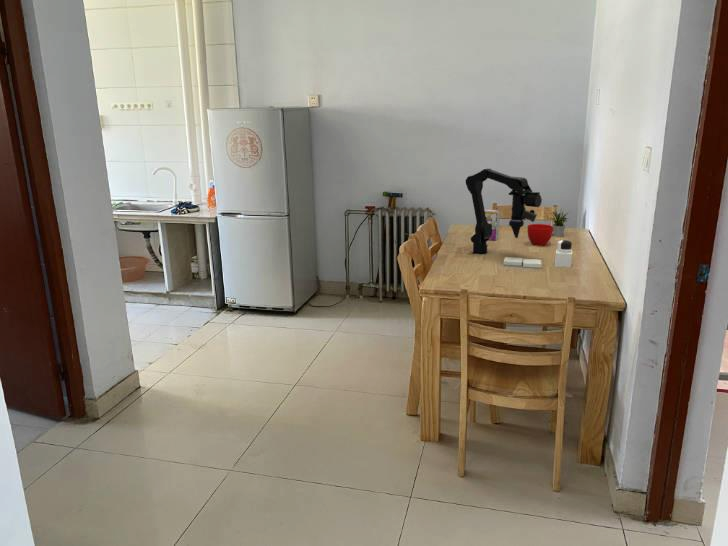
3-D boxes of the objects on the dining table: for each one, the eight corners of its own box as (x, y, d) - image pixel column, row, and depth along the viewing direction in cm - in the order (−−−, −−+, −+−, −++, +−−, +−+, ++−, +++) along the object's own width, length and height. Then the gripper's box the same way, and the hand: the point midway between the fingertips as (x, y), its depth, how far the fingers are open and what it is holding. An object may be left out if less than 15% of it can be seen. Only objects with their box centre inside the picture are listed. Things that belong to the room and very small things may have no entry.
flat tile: (523, 267, 261) (523, 263, 260) (522, 262, 268) (523, 258, 268) (541, 268, 259) (541, 264, 258) (540, 263, 266) (540, 259, 266)
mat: (503, 267, 263) (503, 266, 263) (506, 259, 278) (506, 258, 278) (539, 270, 258) (539, 269, 258) (540, 261, 273) (540, 260, 273)
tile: (505, 261, 272) (503, 265, 265) (505, 257, 271) (503, 261, 264) (522, 262, 270) (521, 266, 262) (522, 258, 269) (521, 262, 262)
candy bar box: (476, 239, 321) (477, 210, 317) (479, 237, 325) (481, 208, 321) (495, 241, 315) (497, 211, 311) (498, 239, 319) (500, 210, 315)
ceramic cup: (561, 244, 307) (562, 225, 304) (540, 248, 298) (542, 229, 295) (541, 239, 317) (543, 222, 315) (521, 244, 308) (522, 225, 305)
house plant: (539, 236, 326) (541, 208, 321) (546, 232, 337) (549, 204, 332) (564, 239, 318) (567, 210, 313) (571, 234, 329) (574, 206, 324)
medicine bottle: (570, 265, 266) (573, 239, 263) (570, 269, 260) (573, 243, 257) (554, 263, 269) (556, 238, 265) (554, 267, 262) (556, 242, 259)
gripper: (535, 208, 257) (533, 242, 261) (537, 202, 274) (534, 234, 278) (509, 208, 261) (508, 241, 265) (513, 201, 278) (511, 233, 282)
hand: (516, 237), depth 272 cm, fingers closed
